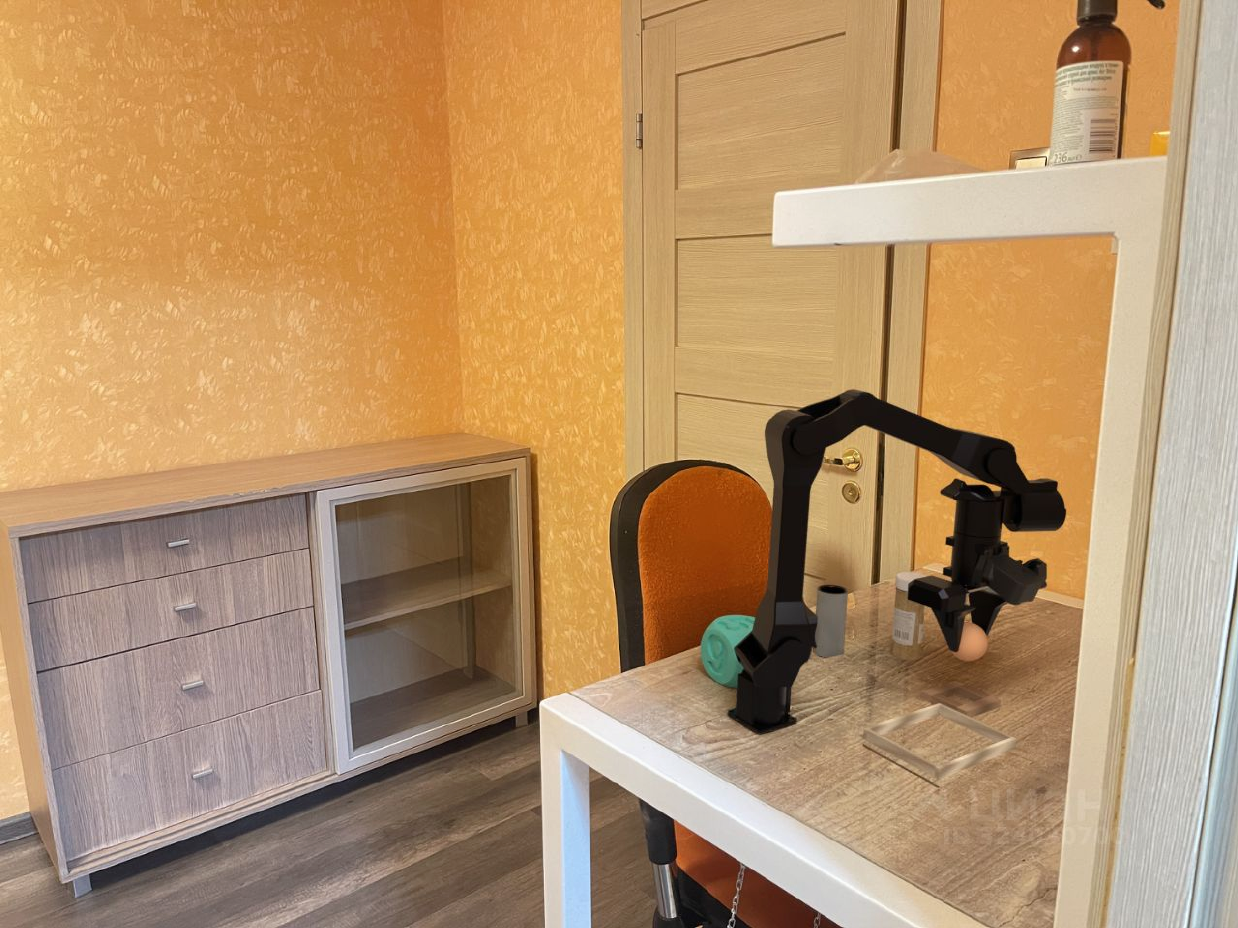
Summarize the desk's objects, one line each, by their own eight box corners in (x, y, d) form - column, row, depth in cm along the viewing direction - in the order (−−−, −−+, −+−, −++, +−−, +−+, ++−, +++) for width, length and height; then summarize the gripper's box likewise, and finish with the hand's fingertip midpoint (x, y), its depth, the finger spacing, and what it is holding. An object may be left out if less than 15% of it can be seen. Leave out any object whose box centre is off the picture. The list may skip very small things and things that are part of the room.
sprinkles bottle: (927, 663, 133) (934, 577, 131) (904, 668, 131) (911, 581, 129) (905, 653, 137) (912, 569, 135) (882, 657, 135) (889, 572, 133)
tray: (937, 787, 99) (939, 768, 98) (862, 745, 108) (863, 728, 107) (1014, 756, 106) (1016, 738, 106) (938, 719, 115) (939, 702, 115)
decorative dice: (777, 681, 126) (780, 627, 125) (735, 693, 122) (737, 638, 121) (740, 661, 133) (742, 610, 131) (698, 673, 128) (700, 620, 127)
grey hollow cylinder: (832, 646, 140) (836, 583, 138) (849, 656, 136) (854, 592, 134) (807, 649, 138) (811, 585, 136) (824, 660, 134) (828, 594, 132)
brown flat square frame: (965, 726, 114) (966, 711, 113) (920, 705, 119) (921, 691, 119) (999, 713, 117) (1000, 699, 117) (954, 694, 123) (955, 680, 123)
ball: (969, 669, 114) (973, 632, 113) (937, 656, 118) (940, 620, 117) (994, 662, 116) (997, 625, 115) (961, 649, 120) (964, 614, 120)
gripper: (986, 557, 102) (974, 684, 105) (1079, 537, 112) (1066, 654, 115) (909, 535, 112) (899, 653, 114) (1000, 519, 122) (990, 627, 124)
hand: (966, 647), depth 117 cm, fingers closed on ball, 5 cm apart
